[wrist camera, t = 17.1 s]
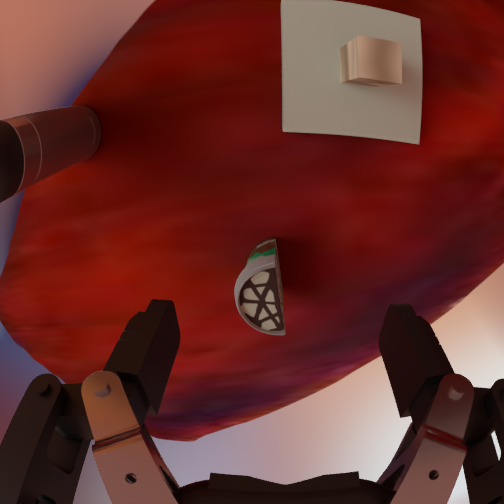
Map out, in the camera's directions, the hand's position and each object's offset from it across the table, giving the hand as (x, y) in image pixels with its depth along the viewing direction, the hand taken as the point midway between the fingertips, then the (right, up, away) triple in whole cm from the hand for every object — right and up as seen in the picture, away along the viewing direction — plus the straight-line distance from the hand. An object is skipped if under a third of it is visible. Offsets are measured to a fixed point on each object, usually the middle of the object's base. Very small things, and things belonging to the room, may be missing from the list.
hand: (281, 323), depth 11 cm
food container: (0, 0, +37) cm, 37 cm away
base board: (+12, +26, +21) cm, 36 cm away
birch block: (+12, +24, +18) cm, 32 cm away
